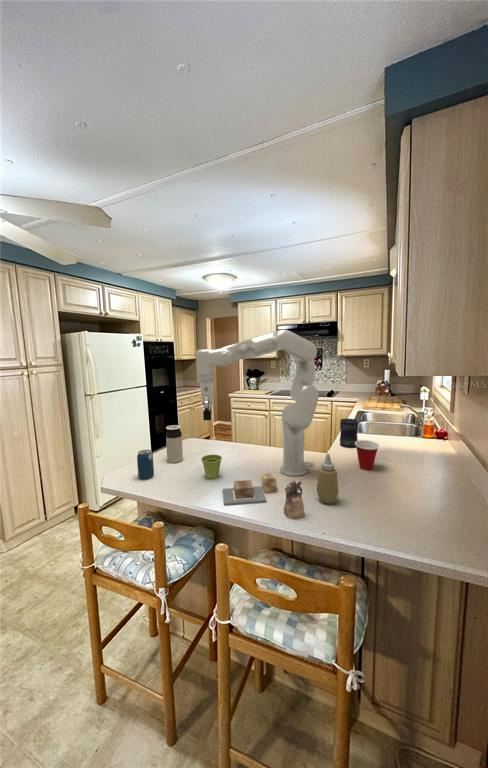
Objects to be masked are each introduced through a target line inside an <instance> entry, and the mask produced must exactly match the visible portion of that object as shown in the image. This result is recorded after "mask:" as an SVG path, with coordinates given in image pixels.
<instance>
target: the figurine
mask: <svg viewBox="0 0 488 768" xmlns="http://www.w3.org/2000/svg"><path fill="white" fill-rule="evenodd" d="M301 485H302V481H301V480H299V481H298V482H296V480H291V481H289V482H288V483H287V485H286V487H285V489H284V492H285V501H284V507H283V514H284V516H285V518H288V519H291V520H292V519H293V520H296V519H300V518H302V517H303V516H304V513H305V506H304V500H303V496H302V495H303V489H302V488H303V487H302V486H301ZM299 491H300V492H299Z"/></svg>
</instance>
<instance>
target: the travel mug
mask: <svg viewBox="0 0 488 768" xmlns="http://www.w3.org/2000/svg"><path fill="white" fill-rule="evenodd" d="M181 428H182V426H181V425H177V424H174V425H173V424H172V425H167V426H166V427H165V429H166V433H165V439H166V440H165V442H166V443H165V444H166V445H165V446H166V461H167V462H168V463H171V464H177V463H180V462H182V461H183V460H184V457H183V434H182V433H183V432H182V431H181Z"/></svg>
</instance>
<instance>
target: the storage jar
mask: <svg viewBox="0 0 488 768" xmlns="http://www.w3.org/2000/svg"><path fill="white" fill-rule="evenodd" d="M339 426H340V428H339V429H340V435H339V446H340V447H341V448H346V449H357V448H356V445H355V442H356V441H359V440H358V429H359V428H358V427H359V420H358V419H354V418H342V419H341V418H340V422H339Z"/></svg>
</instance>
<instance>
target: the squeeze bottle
mask: <svg viewBox="0 0 488 768" xmlns="http://www.w3.org/2000/svg"><path fill="white" fill-rule="evenodd" d="M317 473H318V475H317V483H316V493H317V495H318V498H319V499H318V500H319V501H320V502H321V503H323V504H326V505H327V504H331V505H332V504H334V503H335V502H336V500H337V497H338V495H339V492H340V491H339V483H338V482H339V481H338V471H337V470H336V469H335V463H333V462H332V460H331V454H330V453H326V454H325V458H324V461H323V462H321V466H320V468H319V469H318V472H317Z"/></svg>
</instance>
